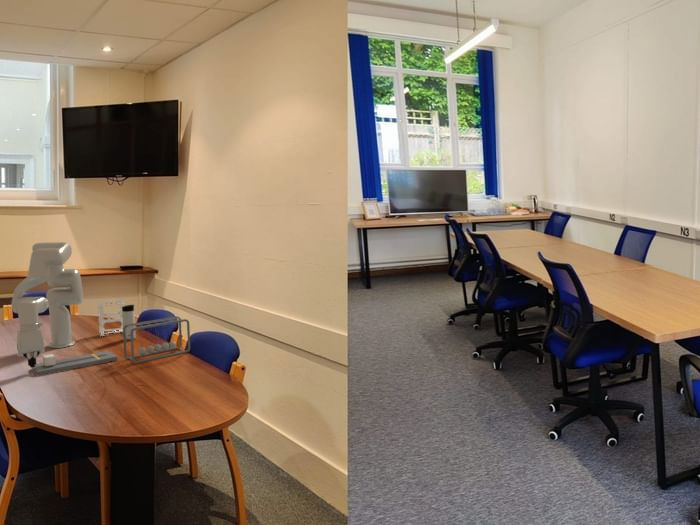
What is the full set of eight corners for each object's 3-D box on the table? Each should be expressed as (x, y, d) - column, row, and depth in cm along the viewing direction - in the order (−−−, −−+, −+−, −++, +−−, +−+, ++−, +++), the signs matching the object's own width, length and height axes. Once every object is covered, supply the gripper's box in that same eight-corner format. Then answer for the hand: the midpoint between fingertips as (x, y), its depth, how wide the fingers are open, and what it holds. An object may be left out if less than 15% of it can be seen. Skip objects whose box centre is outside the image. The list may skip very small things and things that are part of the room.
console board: (32, 369, 236) (31, 364, 235) (109, 354, 258) (108, 350, 258) (37, 376, 226) (37, 371, 226) (117, 360, 248) (117, 356, 248)
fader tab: (43, 364, 235) (42, 355, 235) (53, 362, 238) (52, 353, 237) (45, 366, 231) (45, 357, 231) (55, 364, 234) (54, 356, 234)
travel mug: (131, 340, 284) (129, 306, 281) (121, 340, 285) (119, 305, 283) (138, 338, 290) (136, 303, 288) (128, 337, 291) (126, 303, 289)
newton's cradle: (132, 364, 242) (130, 328, 240) (124, 360, 249) (122, 325, 247) (190, 352, 263) (189, 318, 261) (181, 348, 270) (180, 315, 268)
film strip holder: (124, 329, 311) (122, 297, 308) (127, 334, 299) (125, 300, 297) (98, 332, 303) (96, 299, 301) (100, 337, 291) (98, 303, 289)
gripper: (46, 323, 236) (49, 361, 238) (8, 328, 226) (11, 368, 228) (50, 326, 230) (52, 365, 232) (11, 331, 220) (14, 372, 222)
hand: (32, 366), depth 230 cm, fingers closed
